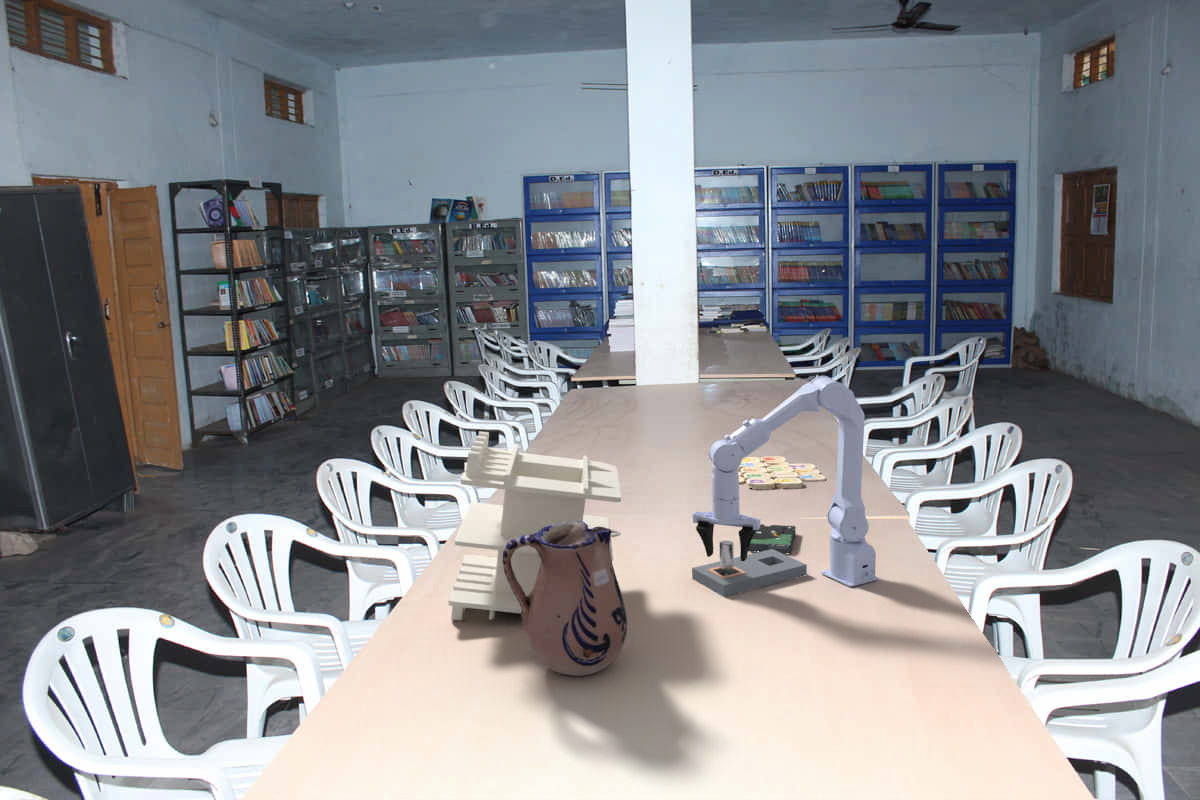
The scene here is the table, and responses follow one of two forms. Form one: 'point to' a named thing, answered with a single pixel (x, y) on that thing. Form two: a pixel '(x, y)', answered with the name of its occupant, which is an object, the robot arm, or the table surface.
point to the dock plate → (750, 572)
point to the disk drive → (773, 538)
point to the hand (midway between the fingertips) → (726, 557)
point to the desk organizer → (520, 517)
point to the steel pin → (726, 558)
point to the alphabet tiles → (776, 473)
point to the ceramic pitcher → (571, 598)
